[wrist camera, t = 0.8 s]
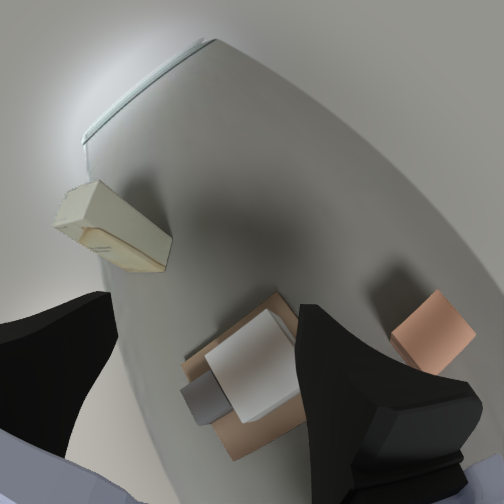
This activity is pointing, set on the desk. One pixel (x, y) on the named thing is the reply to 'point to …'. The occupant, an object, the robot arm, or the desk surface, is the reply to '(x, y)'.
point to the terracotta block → (432, 335)
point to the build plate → (232, 423)
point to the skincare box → (112, 228)
